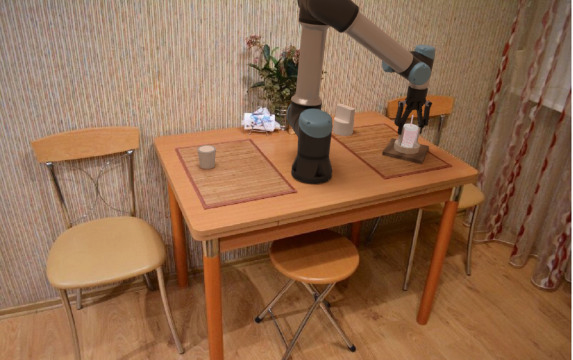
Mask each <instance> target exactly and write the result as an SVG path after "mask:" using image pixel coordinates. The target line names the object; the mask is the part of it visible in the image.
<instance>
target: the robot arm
mask: <svg viewBox="0 0 573 360" xmlns="http://www.w3.org/2000/svg"><path fill="white" fill-rule="evenodd" d="M296 1H297V6H298V8H299V10H298V19H297V20H298V24H299V25H300V26H301V36H300V37H301V38H300V44H299V45H300V47H299V58H298V66H297V67H298V68H297V78H296V90H295V94H294V95H292V96H291V99H290V104H289V106H288V108H287V110H286V119H287V122H288V125H289V126H290V128H291V129H292V131H293V132H294V133H295V135H296V136H297V150H296V151H297V152H296V156H295V158H294V161H293V163H292V165H291V169H290V174H291V176H292V178H293V179H294V180H297V181H298V182H301V183H304V184H308V185H320V184H324V183H327V182H329V181H330V180H331V179H332V177H333V167H332V162H331V159H330V151H331V150H330V149H331V142H332V133H333V125H334V123H333V117H332V115H331V114H330V113H328V112H327V111H326V110H324V111H323V110H322V109H323V107H322V106H323V99H322V98H321V97H320V92H321V91H320V89H321V81H322V74H323V65H324V57H325V51H326V49H325V48H326V41H327V33H328V29H329V28H330V27H331V28H332V29H334V30H335V31H336V32H338V33H339V34H346V35H348V36H349V37H350V38H351V39H353V40H354V41H356V43H358V44H360V45H361V46H362V47H363V48H365V49H366V50H368V51H369V52H370V53H371V54H372V55H374V56H375V57H377V58H378V59H380V60H381V67H382V70H383V71H384V72H385V73H391V74H393V73H396V74H398V75H399V76H400V77H402V78H404V79H406V80H407V81H408V87H407V91H406V98H405V99H404V100H402V101H401V100H398V101H397V111H396V114H395V119H394V123H393V124H394V125H395V126H397V134H398V137H397V139H398V141H399V142H400V143H402V141H403V136H404V130H405V128H404V127H403V126H404V124H406V122H407V120H408V118H409V117H410V114H411V113H412V112H413V111H416V117H417V118H416V119H417V124H415V125H416V126H418V130H417V132H416V136H415V140H414V141H415V142H418V143H419V138H420V135H421V134H422V133H423V129H424V128H425V126H428V125H429V121H430V120H429V119H430V113H431V107H432V105H433V102H432V101H431V100H427V96H428V92H429V91H428V90H429V87H430V82H431V81H430V80H431V76H432V70H433V66H434V63H435V58H436V48H435V46H433V45H430V44H417V45H416V46H415V48H414V50H410V51H409V50H408V49H407V48H405V47H404V46H403V45H402V44H401V43H399V42H397V40H396V39H394V38H392V36H390V35H389V34H388V33H386V32H385V31H384V30H383V29H382V28H380V26H378V25H377V24H375V22H373V21H372V20H370V19H369V18H368V17H367V16H366V15H364V14H363V13H362V12H361V10H360V6H358V5H357V4H356V3H355V2H353V0H296ZM404 107H405V109H404ZM423 107H424V109H423Z"/></svg>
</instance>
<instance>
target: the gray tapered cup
mask: <svg viewBox="0 0 573 360" xmlns="http://www.w3.org/2000/svg"><path fill="white" fill-rule="evenodd" d="M196 150H197V158H198V162H199V167H200V168H201V169H203V170H211V169H213V168H215V167H216V166H215V165H216V155H217V154H216V151H217V148H216V146H214V145H212V144H211V145H210V144H202V145H200V146H198V147H197V149H196Z"/></svg>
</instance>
